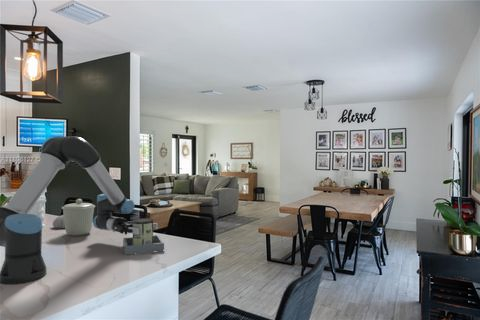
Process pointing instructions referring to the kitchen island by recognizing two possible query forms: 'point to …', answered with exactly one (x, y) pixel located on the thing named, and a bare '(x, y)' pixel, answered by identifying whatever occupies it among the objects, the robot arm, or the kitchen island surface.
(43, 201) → the cherub figurine
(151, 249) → the grey square tray
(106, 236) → the kitchen island surface
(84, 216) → the canister
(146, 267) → the kitchen island surface
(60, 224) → the sea urchin shell
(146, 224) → the coffee can
